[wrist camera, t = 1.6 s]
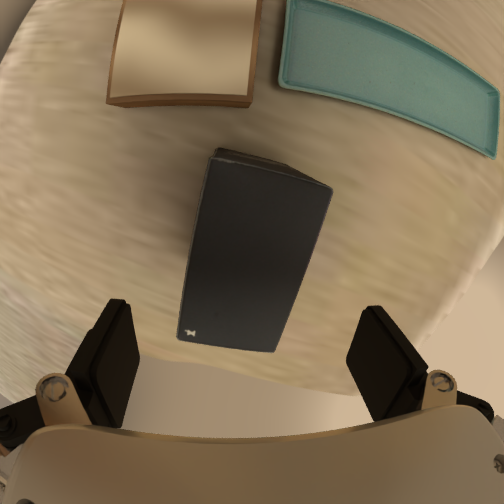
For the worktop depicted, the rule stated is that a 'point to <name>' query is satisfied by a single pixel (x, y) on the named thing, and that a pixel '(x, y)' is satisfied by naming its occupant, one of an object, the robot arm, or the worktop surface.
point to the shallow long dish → (386, 72)
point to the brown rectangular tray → (184, 53)
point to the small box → (249, 251)
